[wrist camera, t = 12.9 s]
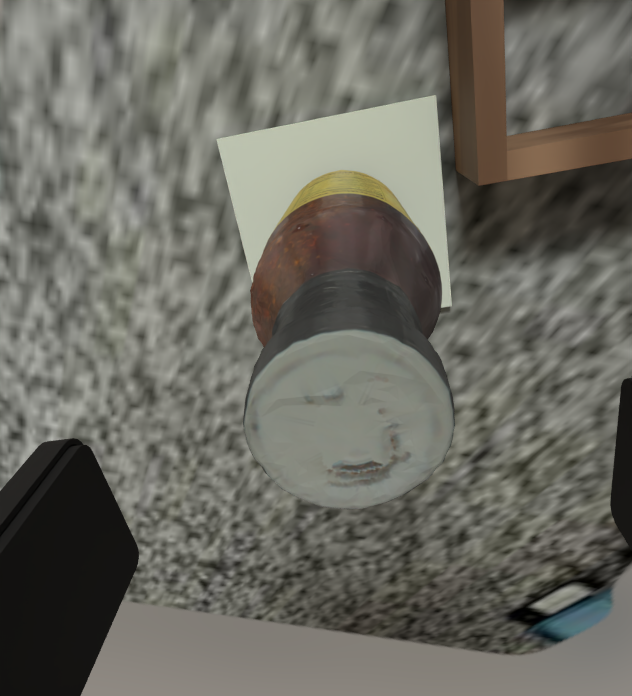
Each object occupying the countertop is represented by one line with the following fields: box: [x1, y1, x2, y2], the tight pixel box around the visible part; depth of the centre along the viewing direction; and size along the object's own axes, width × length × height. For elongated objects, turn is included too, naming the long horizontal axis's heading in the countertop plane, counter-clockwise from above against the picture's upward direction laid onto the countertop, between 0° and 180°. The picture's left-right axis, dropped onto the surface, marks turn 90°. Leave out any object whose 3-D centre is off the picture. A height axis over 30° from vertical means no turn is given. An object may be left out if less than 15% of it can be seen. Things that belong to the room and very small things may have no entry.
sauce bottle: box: [243, 170, 455, 509], centre depth 19 cm, size 6×6×20 cm
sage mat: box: [217, 95, 452, 308], centre depth 28 cm, size 11×11×1 cm
